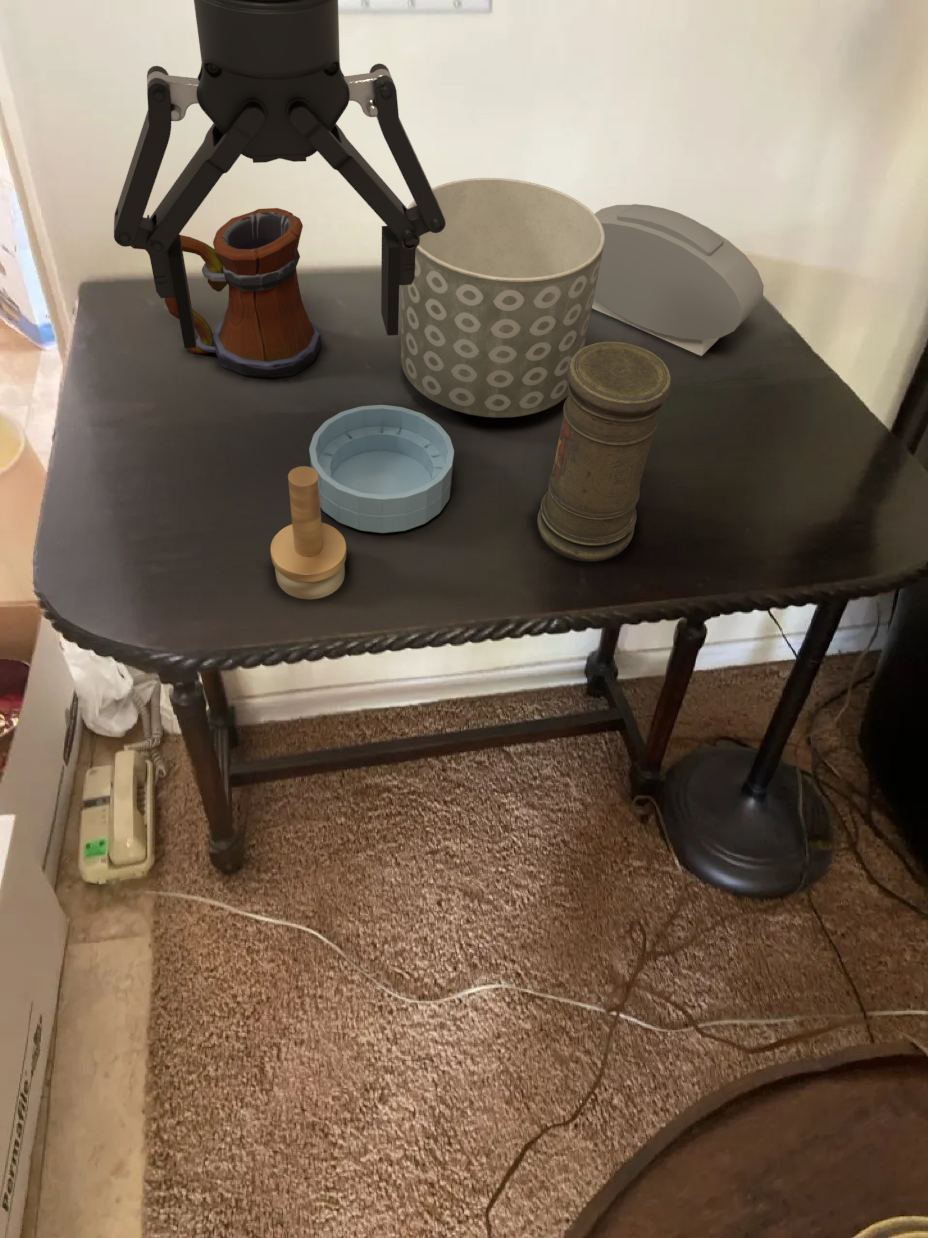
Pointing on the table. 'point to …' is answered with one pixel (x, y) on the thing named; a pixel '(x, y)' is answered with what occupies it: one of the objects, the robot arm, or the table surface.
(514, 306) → the planter
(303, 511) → the brush
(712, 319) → the alarm clock
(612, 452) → the container
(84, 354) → the table surface
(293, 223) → the mug
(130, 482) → the table surface
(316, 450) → the bowl
